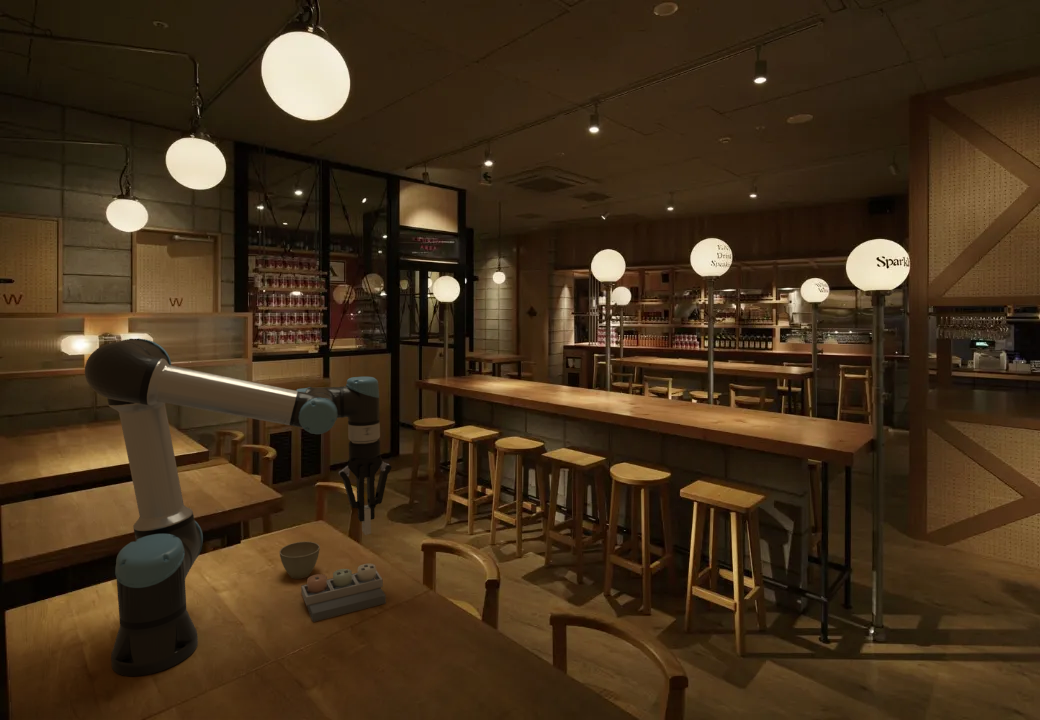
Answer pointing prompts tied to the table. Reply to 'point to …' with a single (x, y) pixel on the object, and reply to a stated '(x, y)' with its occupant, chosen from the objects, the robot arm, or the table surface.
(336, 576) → the sage button
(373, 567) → the cream button
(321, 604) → the panel
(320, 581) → the terracotta button
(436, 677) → the table surface
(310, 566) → the grey bowl
